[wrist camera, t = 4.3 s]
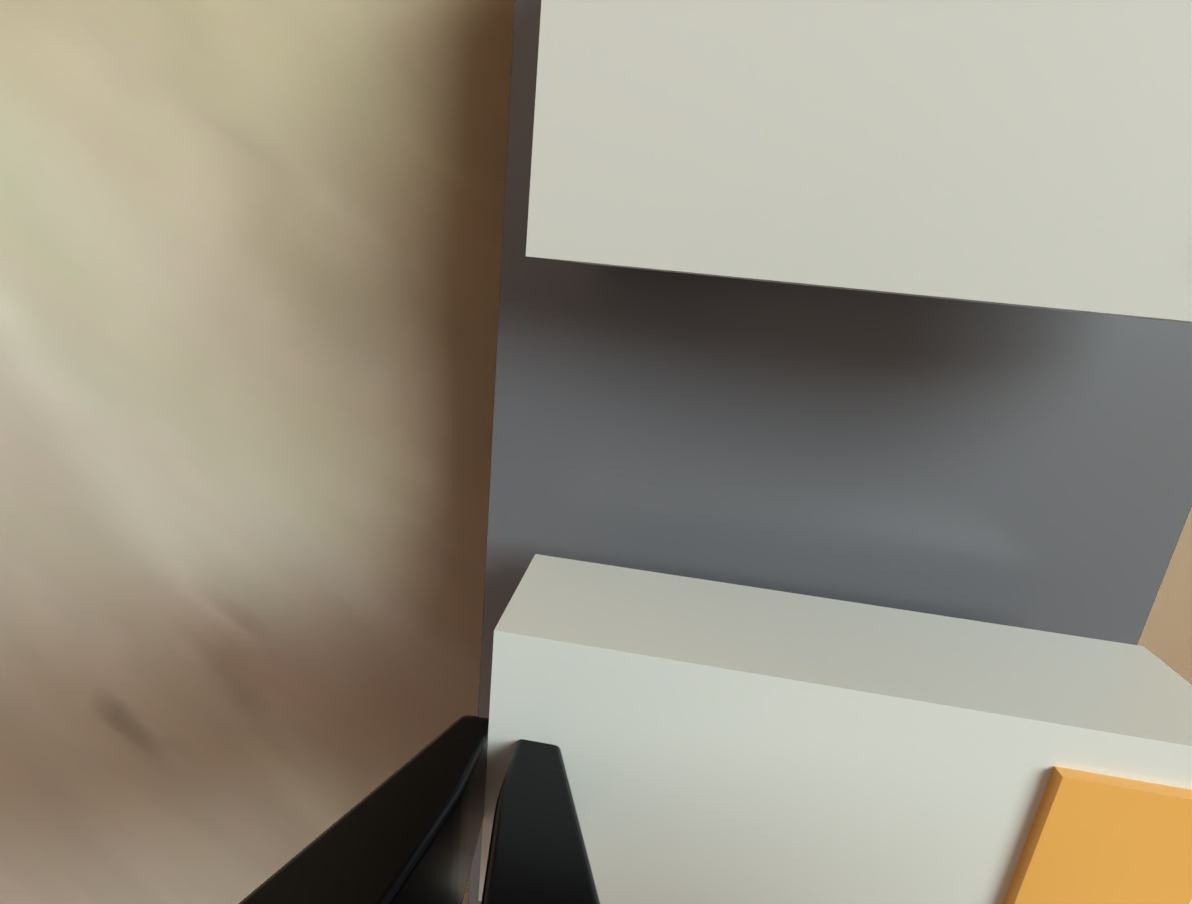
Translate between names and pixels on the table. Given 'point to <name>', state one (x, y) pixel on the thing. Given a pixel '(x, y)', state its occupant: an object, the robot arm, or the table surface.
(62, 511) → the table surface
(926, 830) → the block
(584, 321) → the power strip
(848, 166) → the rocker
